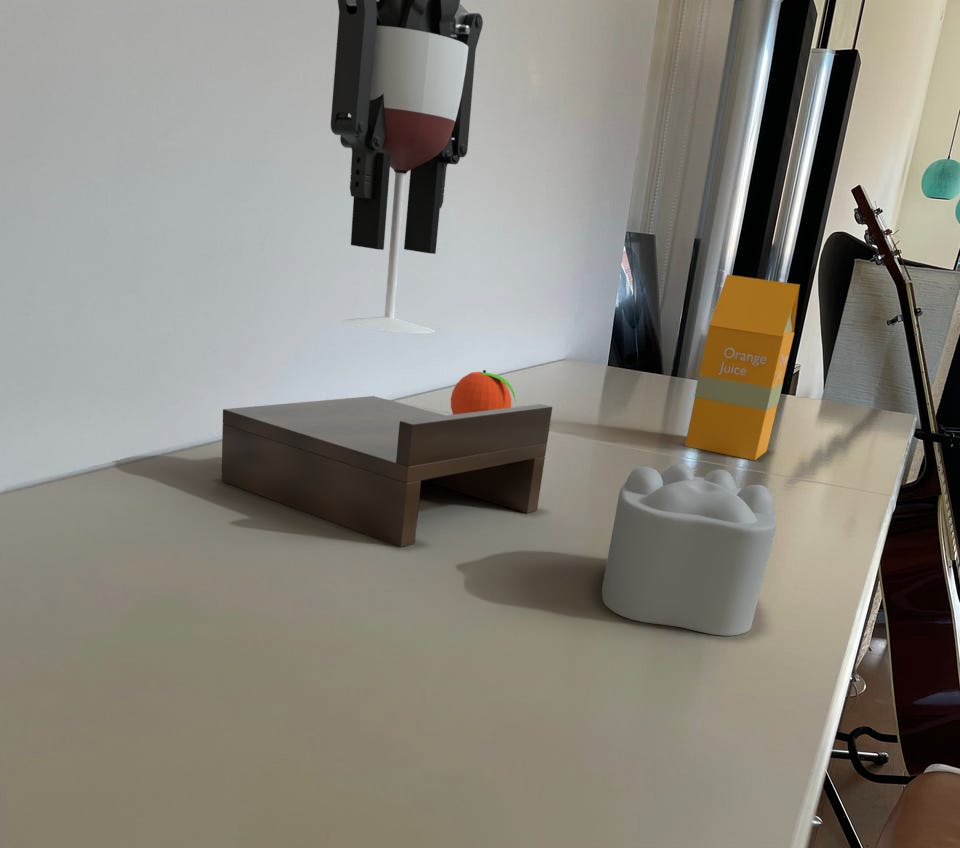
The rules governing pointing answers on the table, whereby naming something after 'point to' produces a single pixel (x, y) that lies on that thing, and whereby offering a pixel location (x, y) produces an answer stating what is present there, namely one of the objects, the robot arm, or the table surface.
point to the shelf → (383, 458)
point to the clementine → (480, 393)
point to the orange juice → (743, 367)
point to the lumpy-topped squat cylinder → (689, 550)
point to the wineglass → (412, 125)
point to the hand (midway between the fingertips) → (394, 248)
